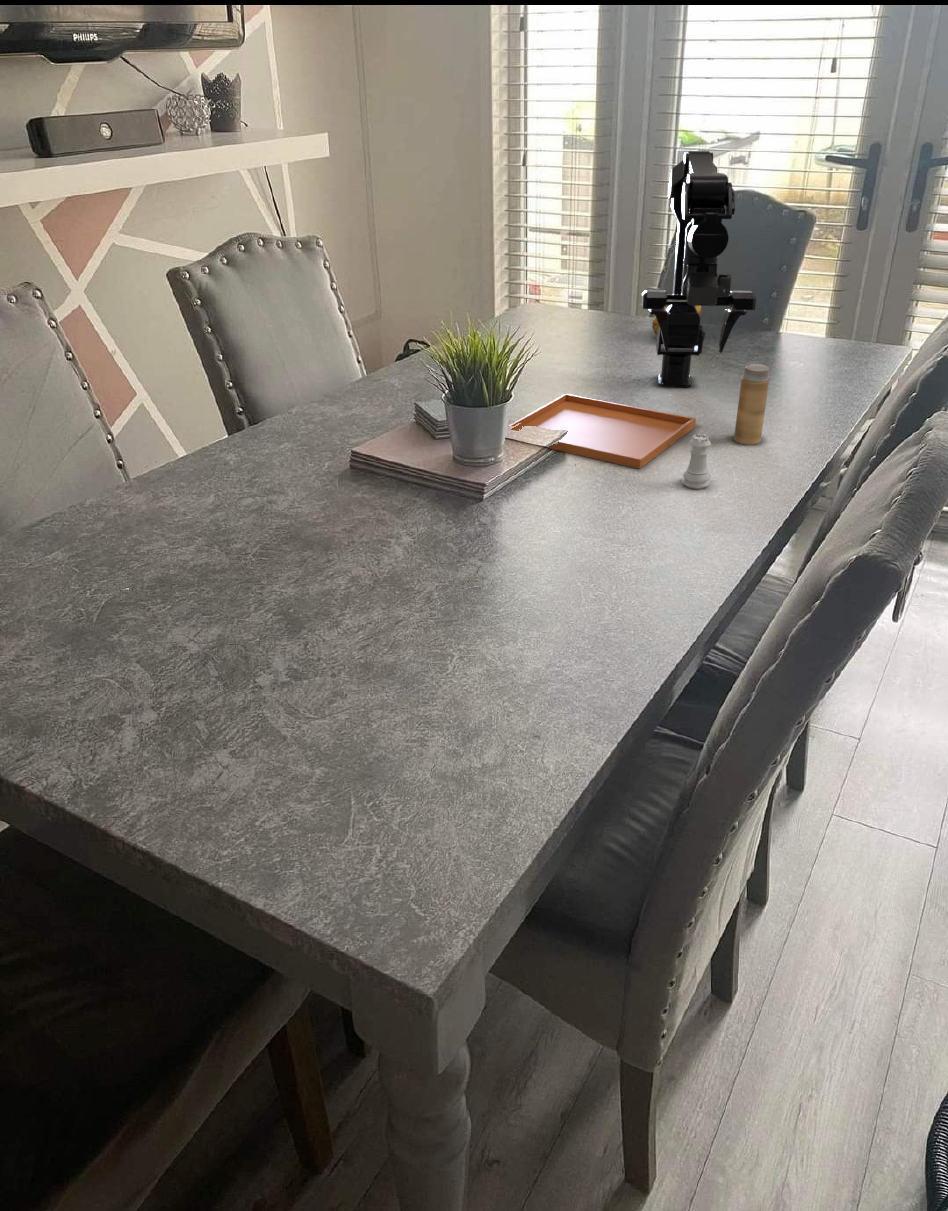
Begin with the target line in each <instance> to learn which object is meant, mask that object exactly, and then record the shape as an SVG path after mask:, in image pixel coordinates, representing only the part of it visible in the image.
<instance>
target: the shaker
mask: <svg viewBox="0 0 948 1211" xmlns="http://www.w3.org/2000/svg"><path fill="white" fill-rule="evenodd" d="M743 370H744V371H743V376H742V377H741V381H740V388H739V395H738V402H737V412H736V419H735V426H734V433H733V434H734V435H733V440H734V442H736V443H737V444H741V445H746V446H748V445H750V446H752V445H758V444H760V443H761V441H762V436H763V435H762V434H763V426H764V420H765V415H766V407H767V400H768V394H769V386H770V378H769V373H770V367H769V366H768V365H765V364H759V363H751V364H746V365H745V366H744V369H743Z"/></svg>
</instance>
